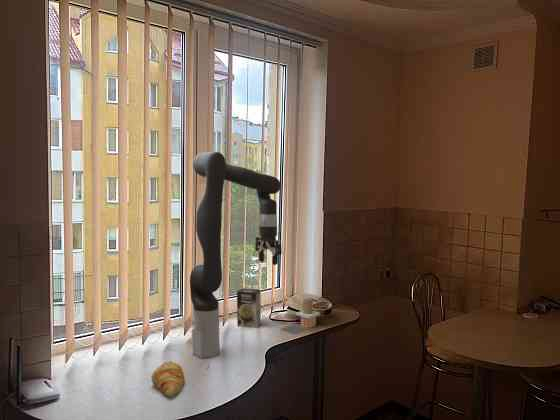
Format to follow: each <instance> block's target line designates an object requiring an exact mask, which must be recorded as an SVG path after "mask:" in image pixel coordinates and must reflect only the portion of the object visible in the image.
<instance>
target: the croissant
mask: <svg viewBox="0 0 560 420" xmlns="http://www.w3.org/2000/svg"><path fill="white" fill-rule="evenodd" d="M150 380H151V382H152V384H154V386H155V388H157V387H158V388H160V389H161V390H160V389H159V390H160V392H162V391H163V392H162V393H164V394H165V396H167V397H172V396H175V395H176V394H177V393H178V392H179V391H180V389H181V388H182V387H183V385H184V384H185V372H184V370H183V367H181V365H180V364H178V363H176V362H173V361H169V362H164V363H163V364H161V365H159V366H158V367H157V368H156V369H155V370H154V371H153V373H152V374H151V379H150ZM182 384H183V385H182ZM158 388H157V389H158Z"/></svg>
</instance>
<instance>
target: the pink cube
mask: <svg viewBox="0 0 560 420" xmlns="http://www.w3.org/2000/svg"><path fill="white" fill-rule="evenodd" d="M316 321H317V316H315V317H312V318H309V319H308V318H305V317H301V316H300V325H301V326H300V327H303V328H312V327H313V328H314V327H315V326H316V325H317V324H316V323H317V322H316Z"/></svg>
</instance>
